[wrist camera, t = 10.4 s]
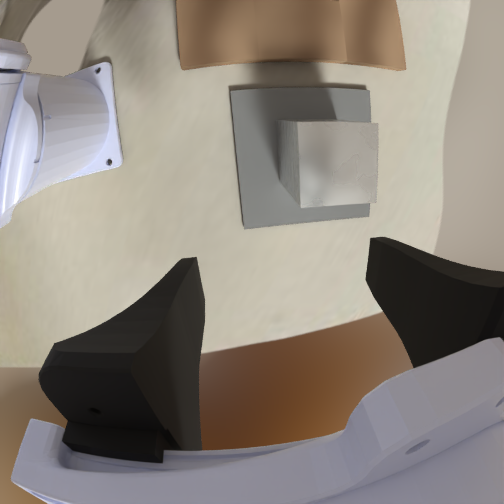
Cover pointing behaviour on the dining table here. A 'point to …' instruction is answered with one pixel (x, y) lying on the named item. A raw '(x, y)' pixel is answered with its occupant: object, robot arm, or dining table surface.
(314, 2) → the walnut hole plate
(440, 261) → the robot arm
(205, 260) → the dining table surface
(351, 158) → the steel plug
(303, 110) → the gray square plate
